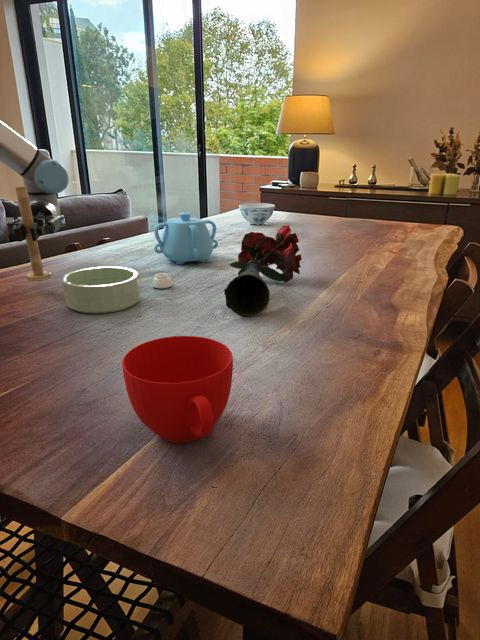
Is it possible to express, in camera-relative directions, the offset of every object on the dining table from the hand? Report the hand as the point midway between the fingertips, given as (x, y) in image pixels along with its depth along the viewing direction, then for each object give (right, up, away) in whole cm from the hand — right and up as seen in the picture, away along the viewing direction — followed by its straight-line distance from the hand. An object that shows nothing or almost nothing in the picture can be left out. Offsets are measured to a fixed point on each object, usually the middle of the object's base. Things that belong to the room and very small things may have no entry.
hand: (25, 234), depth 96 cm
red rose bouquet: (+50, -11, +13) cm, 53 cm away
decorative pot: (+27, +3, +41) cm, 50 cm away
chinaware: (+48, +30, +99) cm, 114 cm away
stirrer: (-2, -8, +9) cm, 12 cm away
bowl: (+15, -14, +5) cm, 21 cm away
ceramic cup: (+41, -35, -39) cm, 67 cm away
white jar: (+25, -9, +16) cm, 31 cm away
